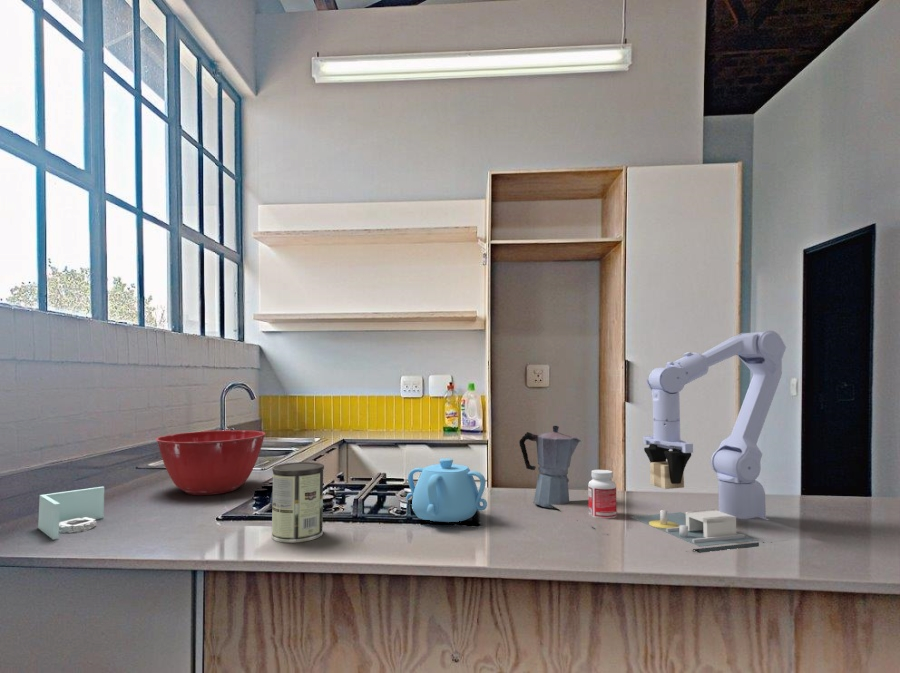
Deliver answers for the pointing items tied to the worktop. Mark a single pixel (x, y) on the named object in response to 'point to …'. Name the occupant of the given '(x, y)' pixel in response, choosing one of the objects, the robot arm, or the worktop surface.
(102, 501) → the right angle wall
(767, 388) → the robot arm
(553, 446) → the moka pot
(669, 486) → the collar
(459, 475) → the decorative pot
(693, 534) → the board
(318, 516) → the coffee can
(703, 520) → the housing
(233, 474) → the mixing bowl
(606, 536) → the worktop surface
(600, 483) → the pill bottle
